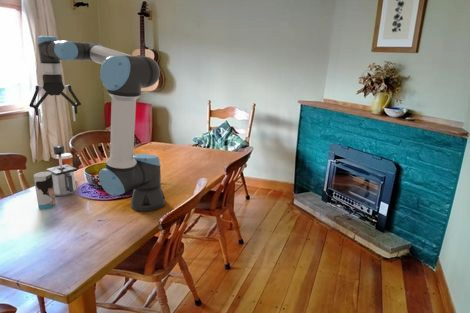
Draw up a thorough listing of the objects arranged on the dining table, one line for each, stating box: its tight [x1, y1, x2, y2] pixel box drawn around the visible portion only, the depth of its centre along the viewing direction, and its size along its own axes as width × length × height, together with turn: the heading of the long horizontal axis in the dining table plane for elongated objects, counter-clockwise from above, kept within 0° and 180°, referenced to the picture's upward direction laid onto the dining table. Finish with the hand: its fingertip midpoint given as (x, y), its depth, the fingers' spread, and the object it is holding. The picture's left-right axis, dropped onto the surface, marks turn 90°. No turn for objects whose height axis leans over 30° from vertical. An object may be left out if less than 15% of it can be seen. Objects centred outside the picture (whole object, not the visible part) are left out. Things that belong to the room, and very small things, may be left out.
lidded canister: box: [45, 164, 78, 198], centre depth 156 cm, size 13×10×12 cm
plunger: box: [52, 145, 66, 170], centre depth 155 cm, size 7×7×21 cm
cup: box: [33, 171, 57, 211], centre depth 141 cm, size 7×7×15 cm
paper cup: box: [56, 152, 74, 167], centre depth 173 cm, size 8×8×14 cm
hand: (58, 121), depth 149 cm, fingers open, 13 cm apart
